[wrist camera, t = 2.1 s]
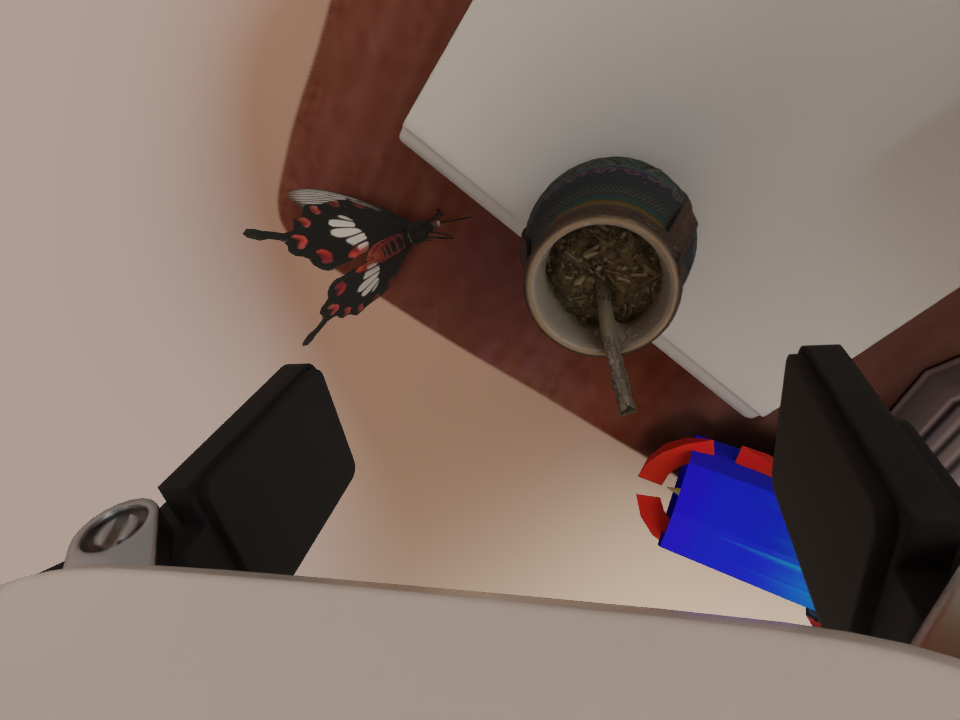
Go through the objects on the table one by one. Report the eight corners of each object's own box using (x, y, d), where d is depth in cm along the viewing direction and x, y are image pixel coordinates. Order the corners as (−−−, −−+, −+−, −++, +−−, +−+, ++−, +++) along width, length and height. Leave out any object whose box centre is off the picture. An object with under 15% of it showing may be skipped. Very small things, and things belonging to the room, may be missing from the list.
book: (678, -364, 16) (1160, 155, 19) (669, -297, 19) (1084, 138, 23) (389, 146, 26) (744, 430, 29) (415, 134, 29) (732, 391, 32)
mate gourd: (651, 109, 22) (662, 149, 14) (719, 261, 25) (762, 372, 16) (507, 194, 26) (446, 268, 17) (579, 322, 28) (557, 440, 20)
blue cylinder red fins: (811, 708, 28) (594, 605, 32) (805, 549, 37) (636, 485, 42) (925, 566, 22) (639, 462, 26) (885, 417, 31) (677, 357, 35)
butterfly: (209, 275, 22) (206, 259, 31) (354, 394, 26) (315, 350, 35) (386, 99, 24) (336, 130, 32) (496, 237, 28) (426, 232, 36)
